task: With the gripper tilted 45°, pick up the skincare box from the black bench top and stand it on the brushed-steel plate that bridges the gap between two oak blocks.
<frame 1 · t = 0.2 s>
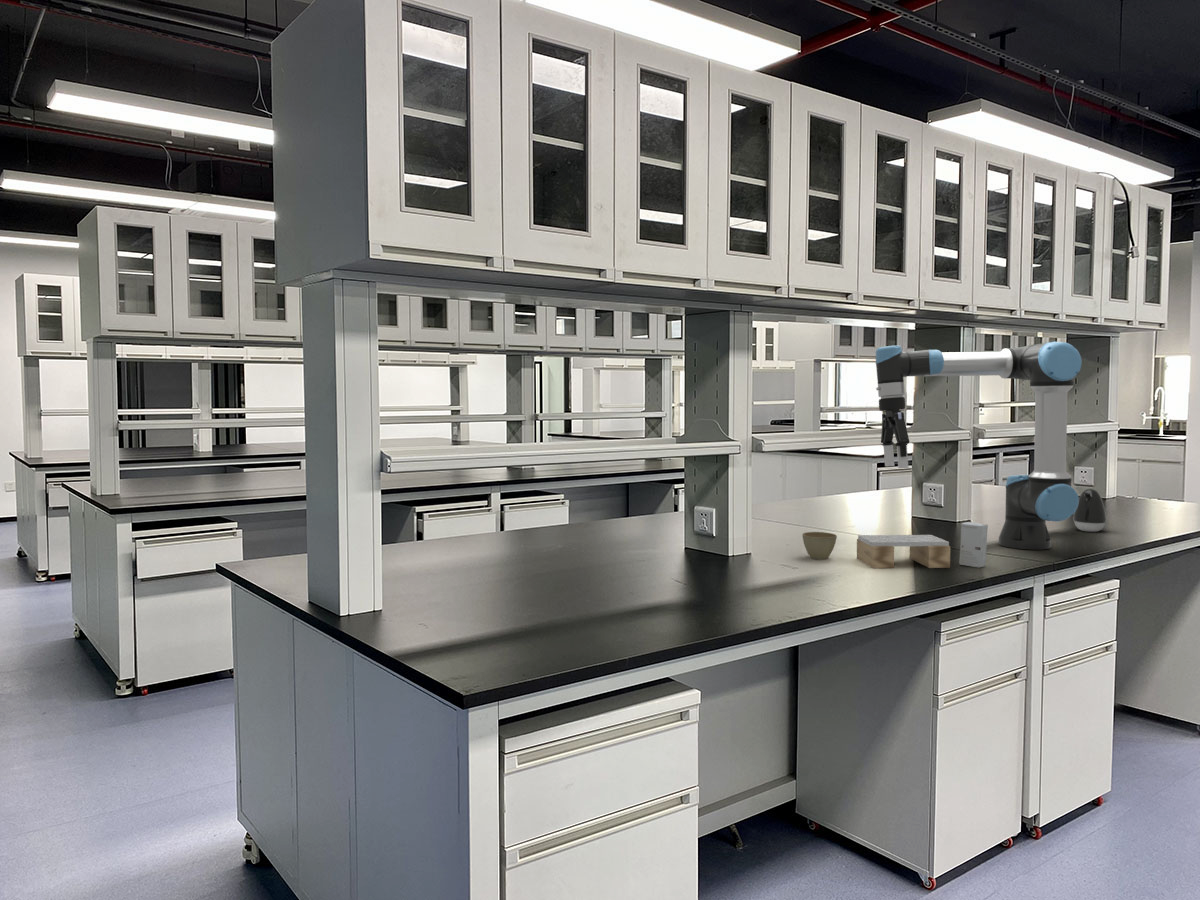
hand: (896, 467, 252), 27 cm above the counter, tool pointing down, fingers open, 13 cm apart
flower pot: (819, 558, 249), on the counter
oak blocks: (901, 562, 242), on the counter
skincare box: (972, 566, 238), on the counter
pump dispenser: (1089, 531, 298), on the counter
bridge plate: (902, 540, 241), on the oak blocks, point 6 cm above the counter
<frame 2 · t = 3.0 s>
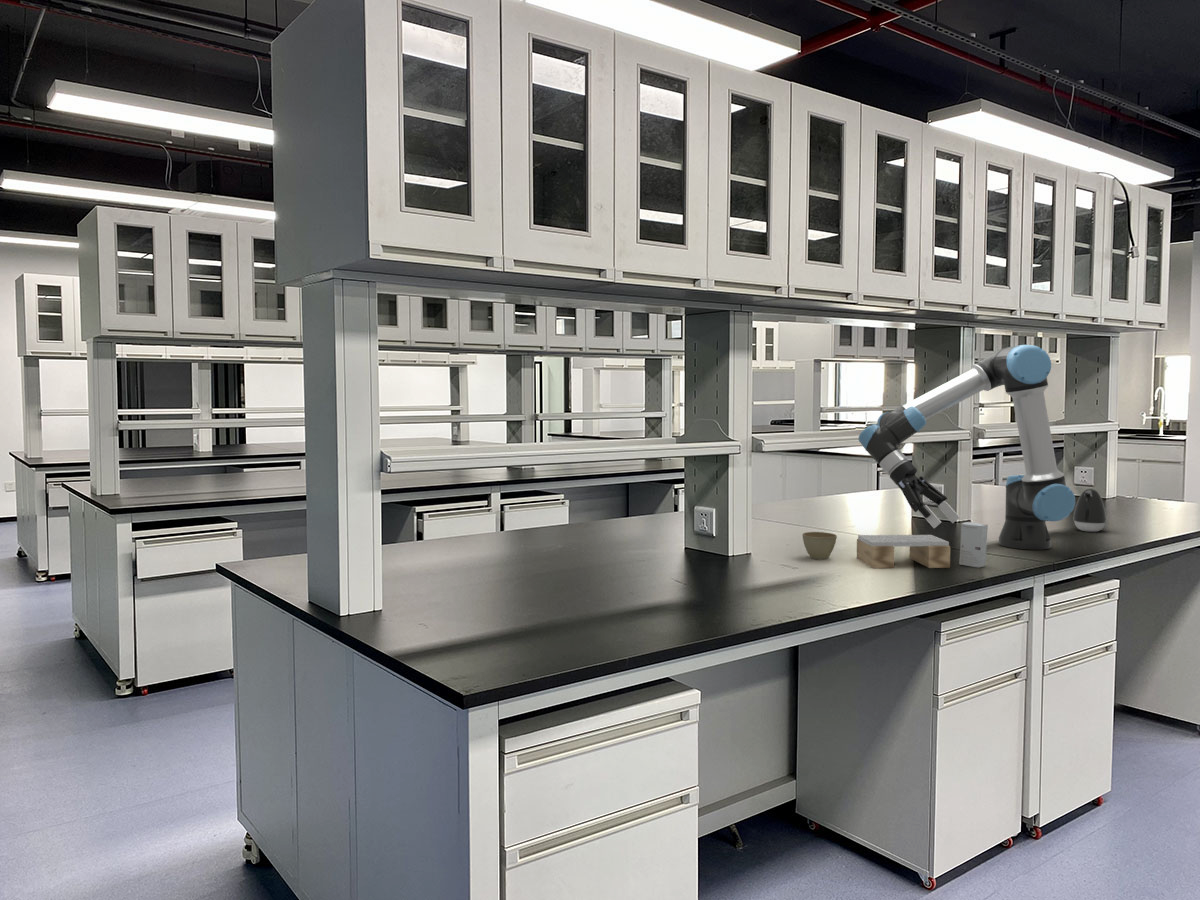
hand: (947, 522, 242), 12 cm above the counter, tool tilted 45°, fingers open, 13 cm apart
nothing on the counter moved.
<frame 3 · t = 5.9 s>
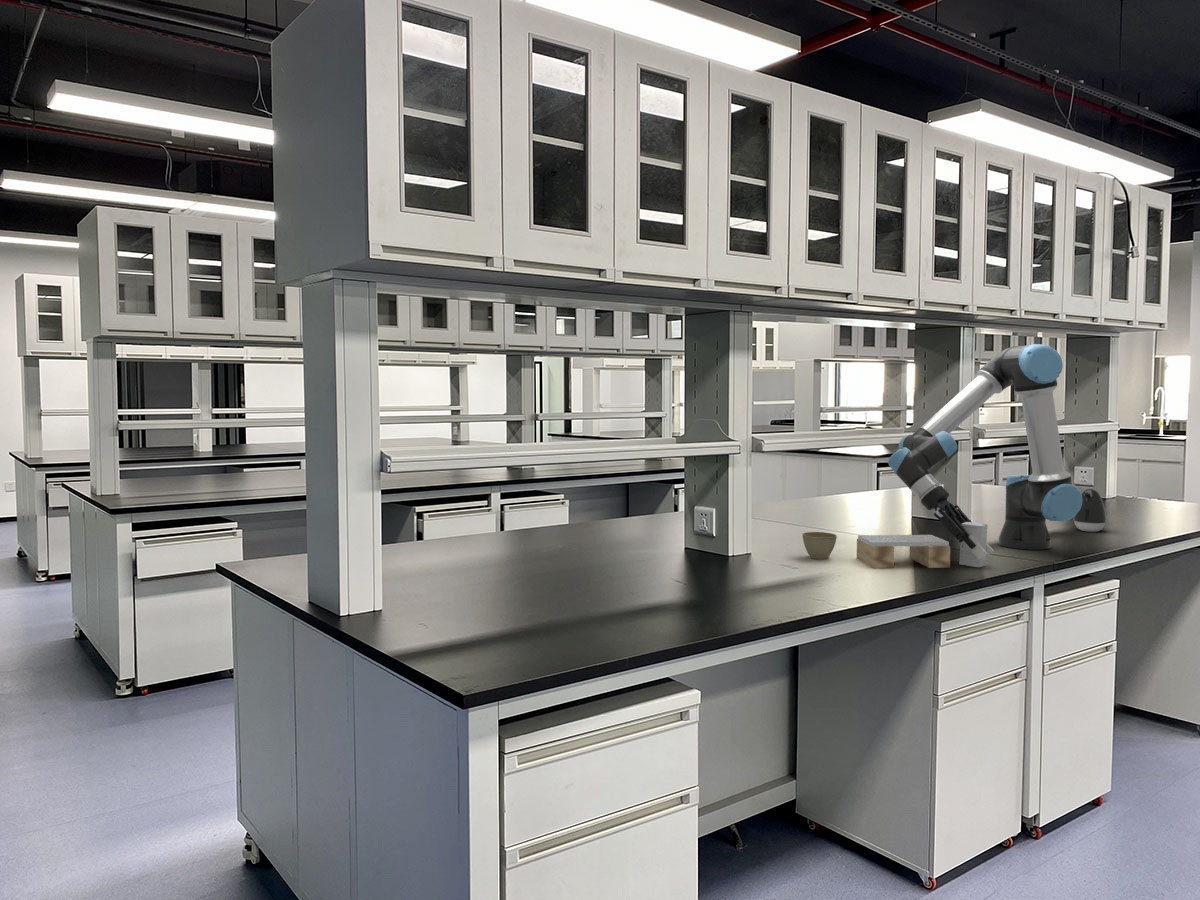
hand: (986, 555, 235), 3 cm above the counter, tool tilted 45°, fingers closed on skincare box, 4 cm apart
skincare box: (972, 565, 238), on the counter, touching gripper
everything else where it was.
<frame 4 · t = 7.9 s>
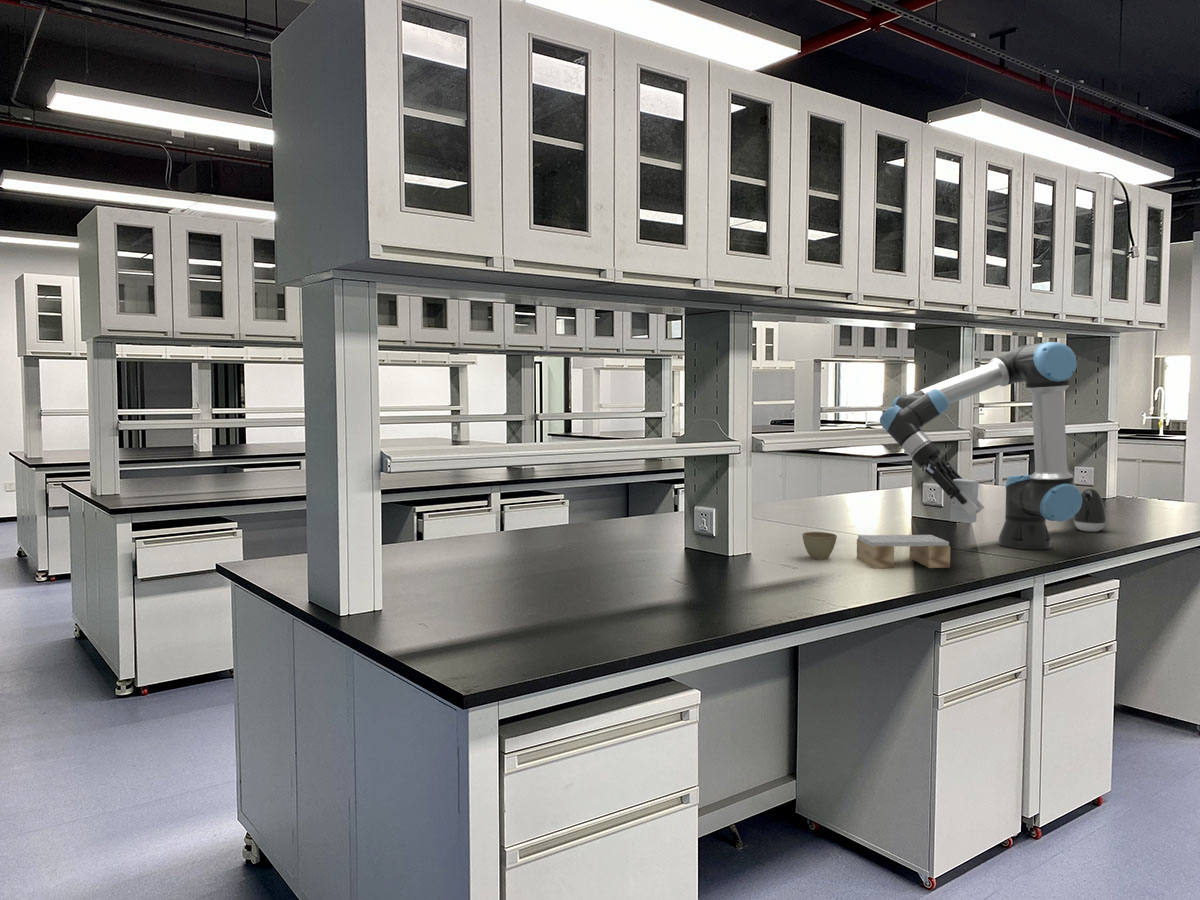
hand: (977, 510, 235), 16 cm above the counter, tool tilted 45°, fingers closed on skincare box, 4 cm apart
skincare box: (963, 522, 238), point 12 cm above the counter, touching gripper
everything else where it was.
when the fingers open (12 cm above the counter, at t = 10.1 s): skincare box stays where it is, resting on bridge plate.
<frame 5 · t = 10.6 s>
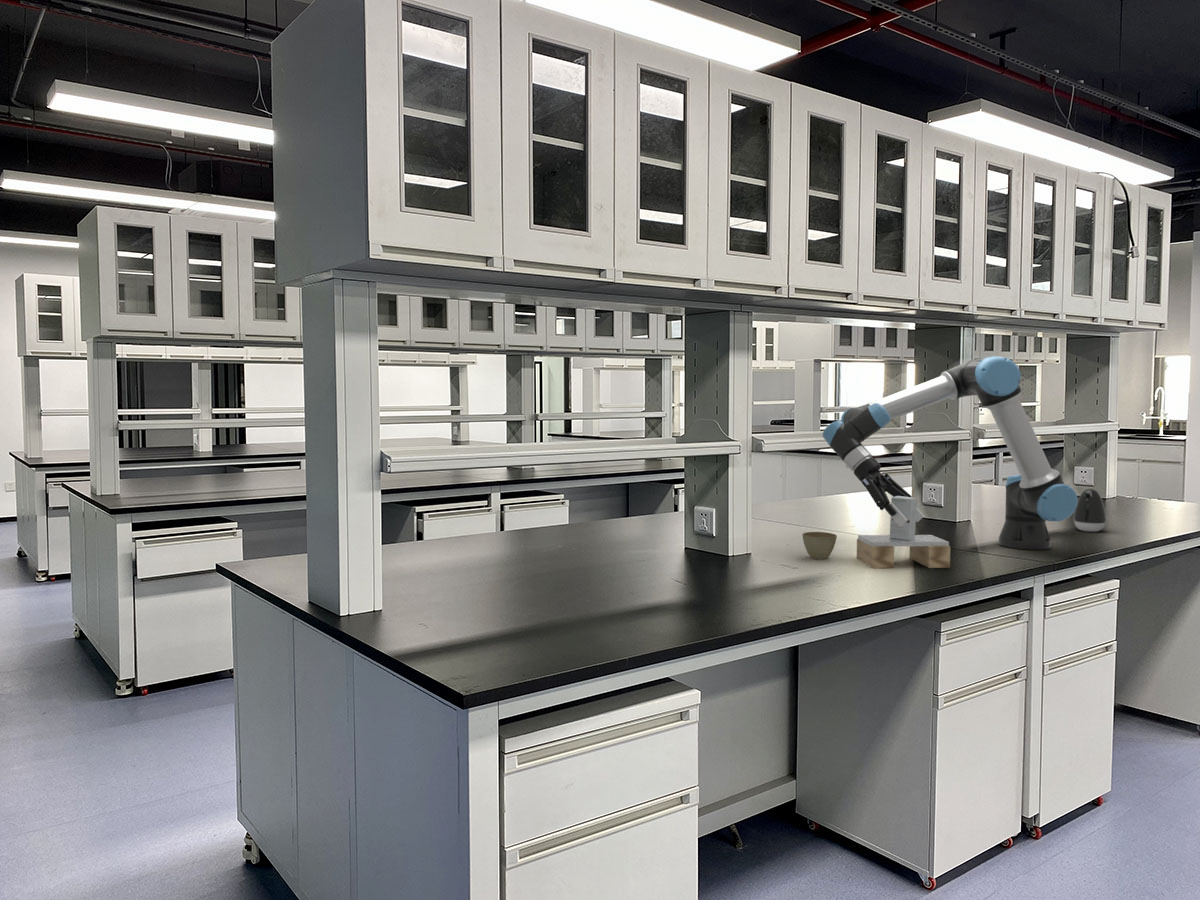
hand: (912, 521, 239), 13 cm above the counter, tool tilted 45°, fingers open, 11 cm apart
skincare box: (902, 539, 241), point 7 cm above the counter, touching bridge plate
everything else where it was.
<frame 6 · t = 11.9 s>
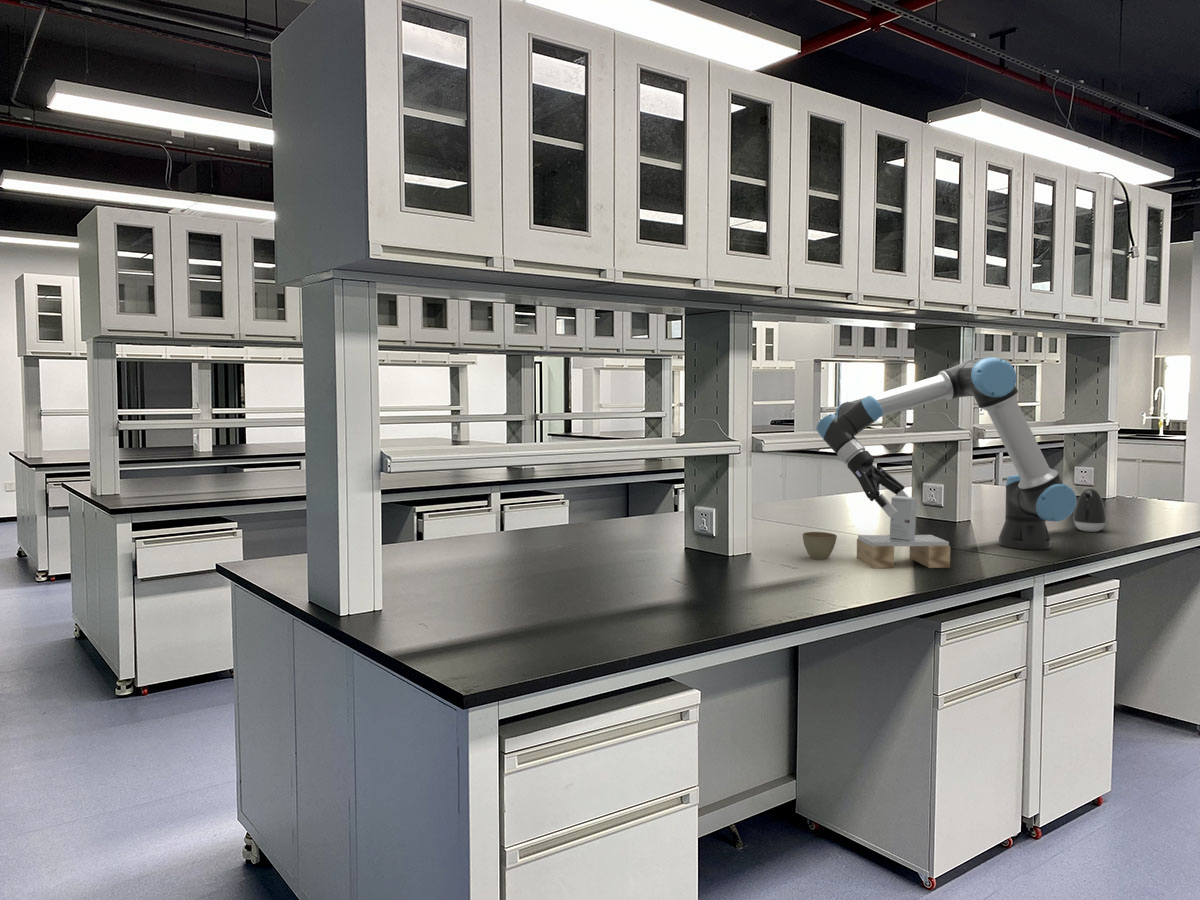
hand: (903, 511, 240), 15 cm above the counter, tool tilted 45°, fingers open, 13 cm apart
nothing on the counter moved.
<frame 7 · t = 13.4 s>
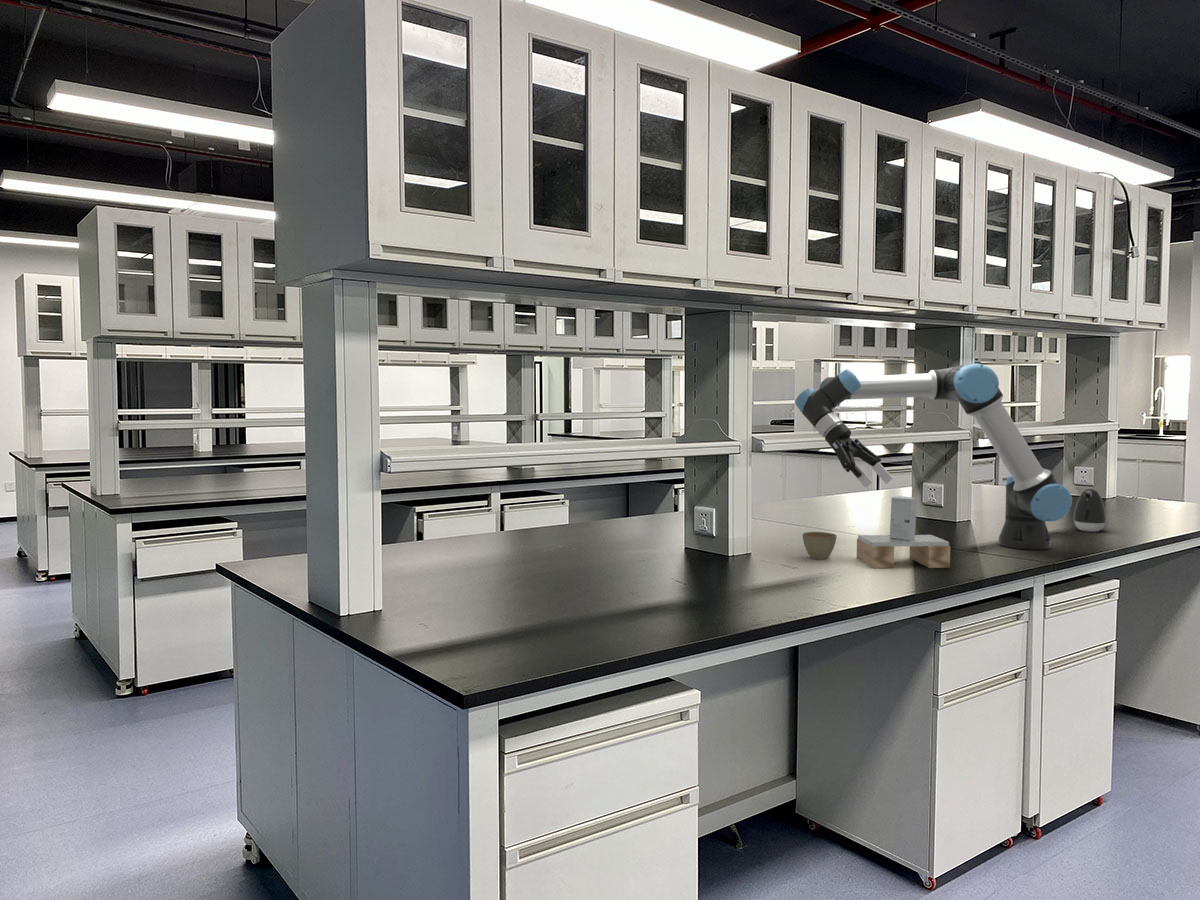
hand: (879, 482, 245), 23 cm above the counter, tool tilted 45°, fingers open, 13 cm apart
nothing on the counter moved.
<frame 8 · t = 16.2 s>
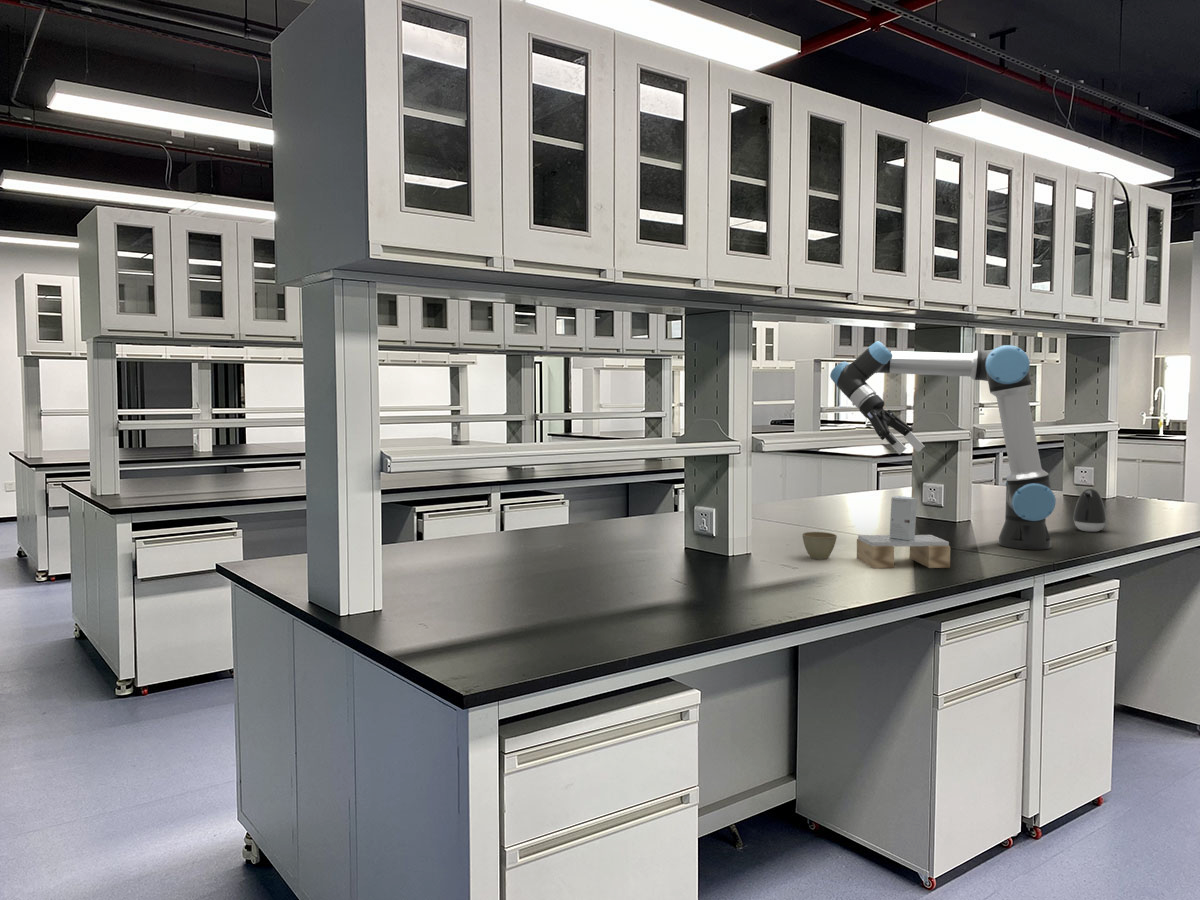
hand: (912, 450, 258), 32 cm above the counter, tool tilted 45°, fingers open, 13 cm apart
nothing on the counter moved.
at the end: skincare box inside the target area on the bridge plate (0.1 cm from its centre), point 7.0 cm above the bridge plate's base; skincare box tilted 0°; the gripper is holding nothing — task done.
